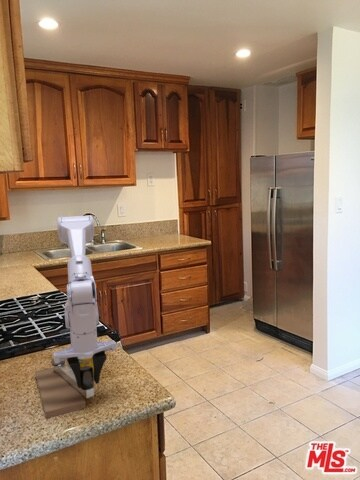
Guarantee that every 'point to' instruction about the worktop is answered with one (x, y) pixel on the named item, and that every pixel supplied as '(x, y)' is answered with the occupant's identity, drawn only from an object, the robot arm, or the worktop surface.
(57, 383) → the base board
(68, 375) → the lever
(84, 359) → the supplement bottle
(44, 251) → the worktop surface
